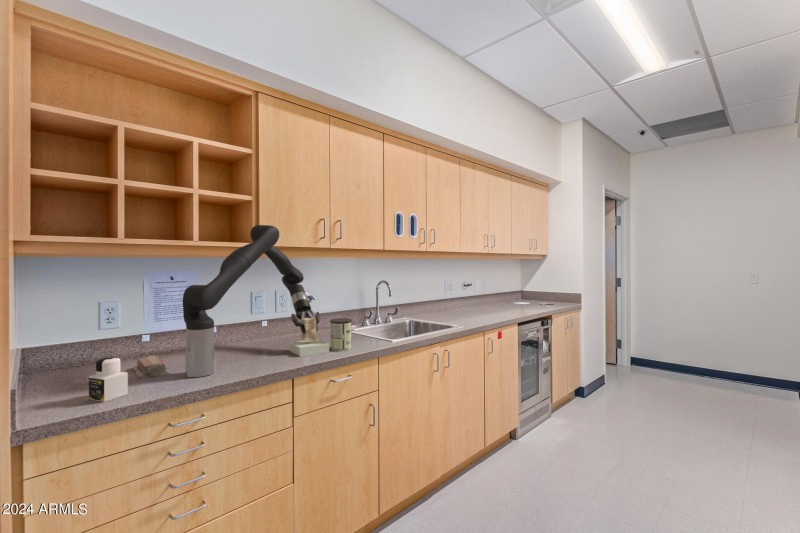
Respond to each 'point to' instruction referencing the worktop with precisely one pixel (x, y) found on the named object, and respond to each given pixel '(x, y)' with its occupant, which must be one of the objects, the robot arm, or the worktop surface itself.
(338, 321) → the coffee can
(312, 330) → the birch block
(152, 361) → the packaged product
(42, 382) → the worktop surface
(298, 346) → the sage plinth
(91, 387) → the medicine bottle
